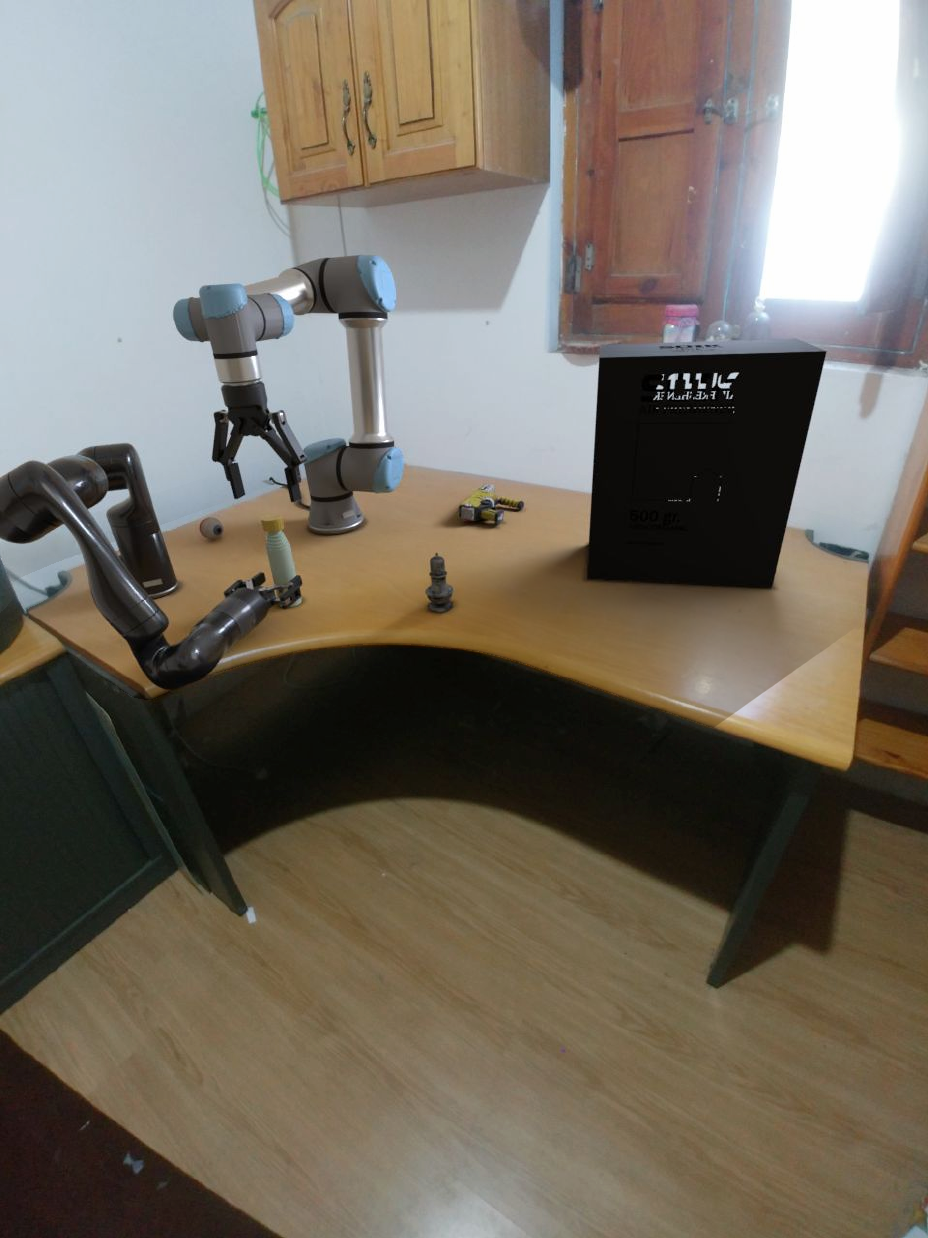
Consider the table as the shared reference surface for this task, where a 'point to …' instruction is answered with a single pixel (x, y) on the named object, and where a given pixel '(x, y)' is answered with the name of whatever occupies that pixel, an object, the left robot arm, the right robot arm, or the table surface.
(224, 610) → the left robot arm
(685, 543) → the cardboard box
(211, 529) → the eyeball
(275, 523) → the cap
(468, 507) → the toy gun
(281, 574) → the bottle
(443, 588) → the grey chess piece
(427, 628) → the table surface
